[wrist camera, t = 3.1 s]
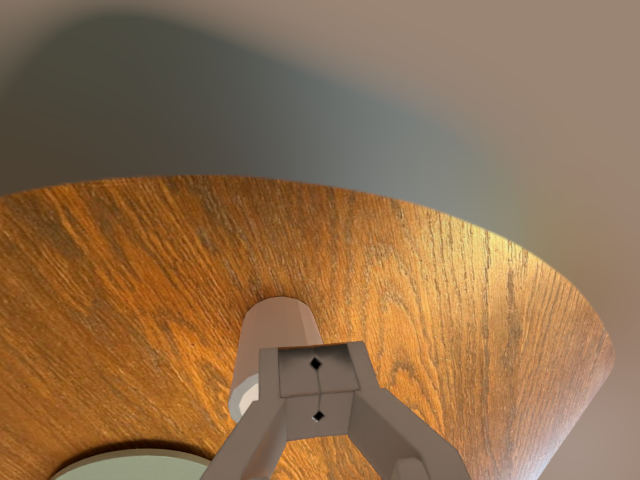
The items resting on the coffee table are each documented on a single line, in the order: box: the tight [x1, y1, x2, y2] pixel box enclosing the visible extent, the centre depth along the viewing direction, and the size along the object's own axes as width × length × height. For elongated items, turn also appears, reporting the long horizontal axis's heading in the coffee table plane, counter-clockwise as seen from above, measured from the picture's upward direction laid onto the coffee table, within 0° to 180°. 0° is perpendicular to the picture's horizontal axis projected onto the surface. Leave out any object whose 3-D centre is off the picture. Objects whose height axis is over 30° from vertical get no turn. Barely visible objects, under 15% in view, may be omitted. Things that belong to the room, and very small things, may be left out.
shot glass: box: [228, 296, 323, 423], centre depth 25 cm, size 7×7×7 cm
